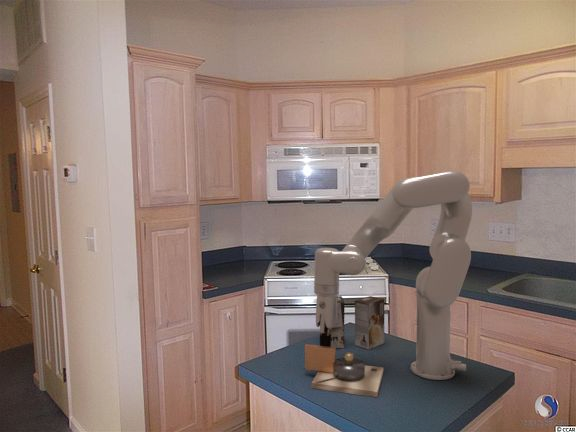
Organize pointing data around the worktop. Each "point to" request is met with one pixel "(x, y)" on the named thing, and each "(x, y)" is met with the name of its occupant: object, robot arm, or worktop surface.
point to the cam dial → (333, 363)
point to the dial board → (351, 382)
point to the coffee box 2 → (369, 322)
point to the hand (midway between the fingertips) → (325, 346)
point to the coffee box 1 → (338, 325)
